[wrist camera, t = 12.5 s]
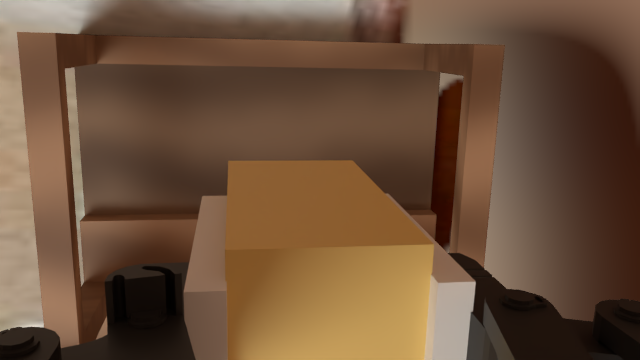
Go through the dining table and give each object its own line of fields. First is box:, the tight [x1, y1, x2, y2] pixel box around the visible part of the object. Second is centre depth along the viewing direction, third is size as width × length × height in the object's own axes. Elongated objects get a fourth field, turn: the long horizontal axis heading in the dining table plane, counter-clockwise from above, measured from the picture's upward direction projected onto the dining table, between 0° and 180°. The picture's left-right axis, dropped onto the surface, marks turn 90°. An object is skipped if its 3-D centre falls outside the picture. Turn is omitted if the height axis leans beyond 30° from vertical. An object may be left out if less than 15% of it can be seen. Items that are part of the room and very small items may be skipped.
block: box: [225, 160, 434, 360], centre depth 15 cm, size 4×4×8 cm
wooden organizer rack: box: [17, 32, 505, 348], centre depth 34 cm, size 30×22×10 cm
